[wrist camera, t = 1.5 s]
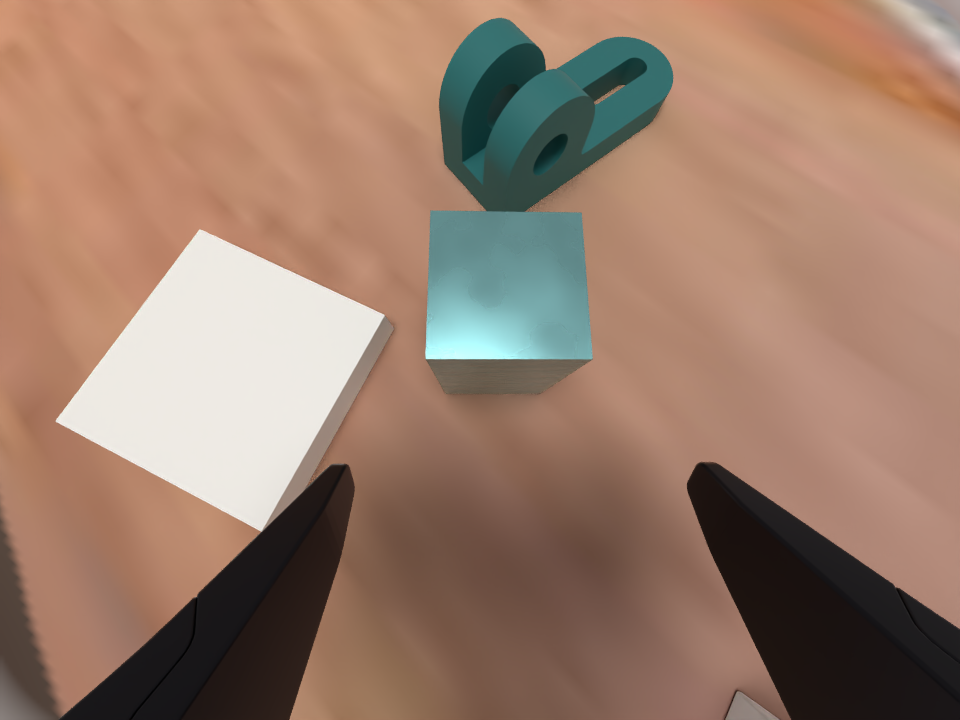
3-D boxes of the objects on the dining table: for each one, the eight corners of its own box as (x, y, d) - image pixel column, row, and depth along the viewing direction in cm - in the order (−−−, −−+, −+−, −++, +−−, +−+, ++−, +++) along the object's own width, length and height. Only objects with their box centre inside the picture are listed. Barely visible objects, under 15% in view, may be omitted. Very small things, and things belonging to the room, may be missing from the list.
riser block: (291, 518, 21) (261, 531, 18) (111, 424, 22) (55, 421, 19) (395, 330, 23) (384, 315, 20) (232, 254, 24) (200, 229, 21)
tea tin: (539, 393, 22) (592, 359, 12) (445, 393, 22) (425, 358, 12) (536, 306, 24) (581, 212, 14) (447, 305, 23) (430, 210, 14)
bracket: (501, 229, 25) (514, 135, 17) (444, 165, 26) (433, 51, 18) (674, 107, 28) (751, -19, 20) (617, 55, 29) (669, -84, 21)
